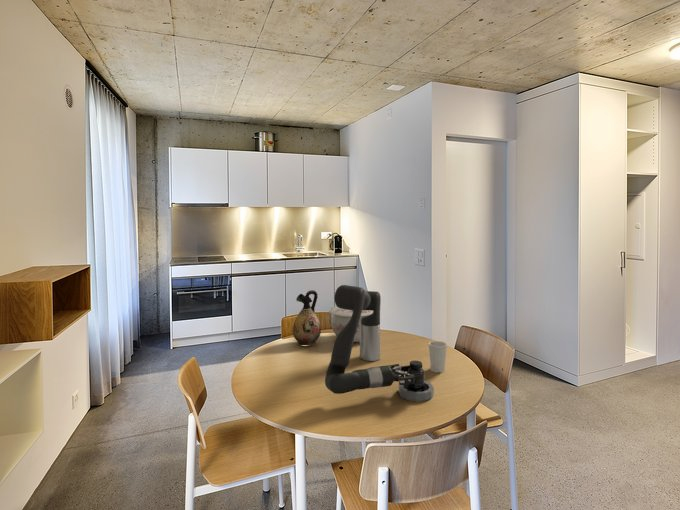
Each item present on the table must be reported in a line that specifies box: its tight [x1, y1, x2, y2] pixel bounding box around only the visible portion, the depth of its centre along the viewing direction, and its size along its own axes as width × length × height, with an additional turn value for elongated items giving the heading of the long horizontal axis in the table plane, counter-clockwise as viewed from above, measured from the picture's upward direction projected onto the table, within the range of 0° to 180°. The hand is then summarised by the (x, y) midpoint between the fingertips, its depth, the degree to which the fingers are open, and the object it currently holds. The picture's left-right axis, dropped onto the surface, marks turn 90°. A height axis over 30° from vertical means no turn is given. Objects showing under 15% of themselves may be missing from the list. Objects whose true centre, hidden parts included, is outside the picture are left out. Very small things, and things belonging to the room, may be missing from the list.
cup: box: [428, 340, 448, 373], centre depth 177 cm, size 8×8×12 cm
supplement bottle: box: [407, 360, 426, 392], centre depth 153 cm, size 7×7×12 cm
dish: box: [398, 380, 435, 402], centre depth 153 cm, size 13×13×3 cm
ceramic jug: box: [292, 289, 322, 346], centre depth 215 cm, size 17×15×30 cm
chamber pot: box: [328, 306, 373, 343], centre depth 224 cm, size 28×28×21 cm
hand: (416, 371), depth 153 cm, fingers open, 8 cm apart
